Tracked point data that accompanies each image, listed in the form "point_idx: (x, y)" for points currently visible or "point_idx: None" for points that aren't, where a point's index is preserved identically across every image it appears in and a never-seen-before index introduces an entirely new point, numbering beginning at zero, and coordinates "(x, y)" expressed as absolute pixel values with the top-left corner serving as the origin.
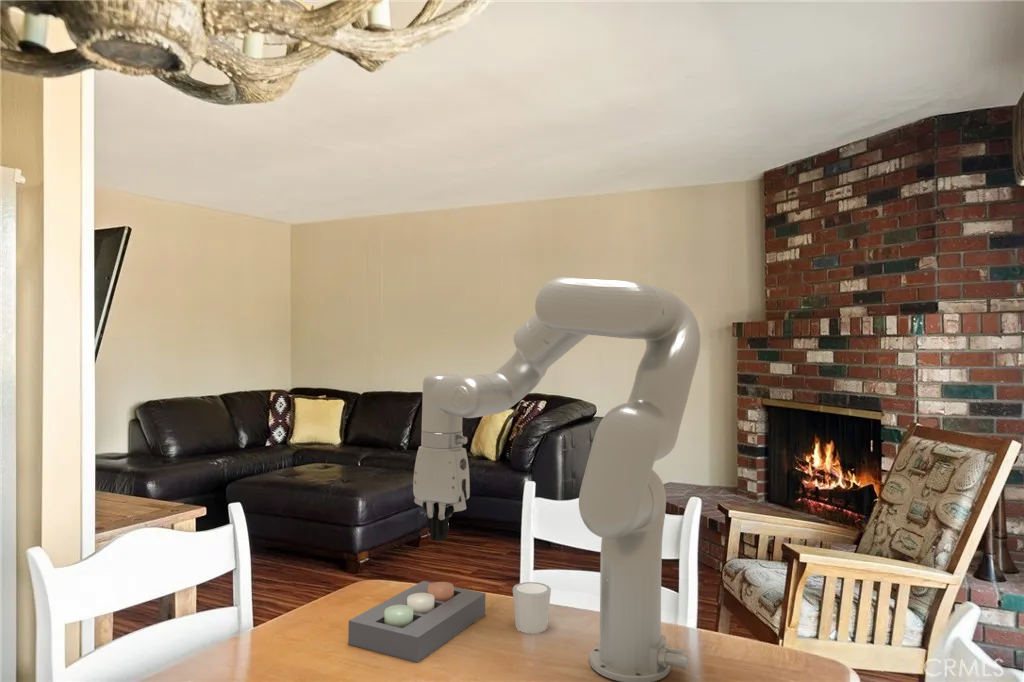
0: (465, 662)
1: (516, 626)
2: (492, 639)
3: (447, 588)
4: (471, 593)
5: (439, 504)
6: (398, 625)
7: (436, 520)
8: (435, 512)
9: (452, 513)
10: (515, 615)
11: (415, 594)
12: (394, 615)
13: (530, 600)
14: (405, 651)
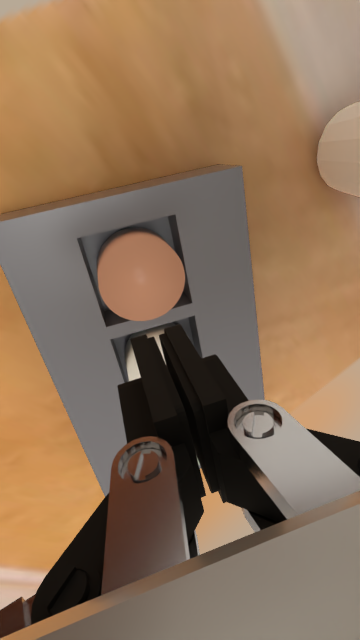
0: (311, 361)
1: (331, 186)
2: (306, 265)
3: (173, 279)
4: (208, 200)
5: (183, 535)
6: None
7: (225, 497)
8: (191, 524)
9: (322, 437)
10: (346, 189)
11: (137, 373)
12: (199, 464)
13: None
14: None
